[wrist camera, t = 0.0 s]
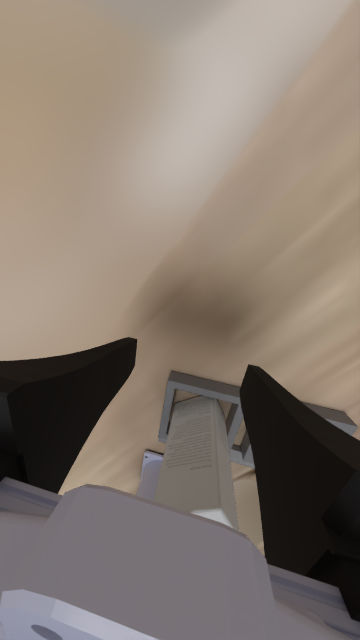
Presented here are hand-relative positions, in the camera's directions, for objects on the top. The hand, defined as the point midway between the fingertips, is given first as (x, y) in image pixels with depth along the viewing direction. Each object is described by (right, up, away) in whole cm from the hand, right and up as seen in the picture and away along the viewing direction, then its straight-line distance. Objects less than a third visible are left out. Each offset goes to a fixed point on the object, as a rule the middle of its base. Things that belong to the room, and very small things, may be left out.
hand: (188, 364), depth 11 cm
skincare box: (+2, -10, +14) cm, 17 cm away
